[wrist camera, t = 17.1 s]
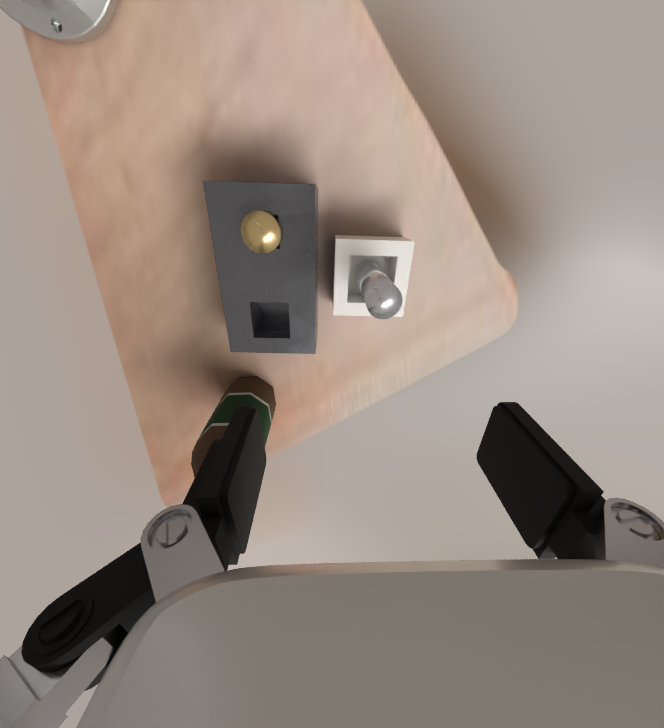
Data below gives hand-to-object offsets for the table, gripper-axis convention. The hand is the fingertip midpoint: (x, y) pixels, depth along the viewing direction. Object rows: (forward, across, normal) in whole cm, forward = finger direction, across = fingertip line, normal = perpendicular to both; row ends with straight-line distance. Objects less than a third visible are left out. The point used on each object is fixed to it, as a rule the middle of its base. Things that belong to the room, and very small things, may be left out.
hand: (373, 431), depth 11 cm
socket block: (+27, +8, -1) cm, 28 cm away
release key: (+26, +8, -6) cm, 28 cm away
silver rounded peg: (+26, -3, -1) cm, 26 cm away
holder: (+27, -3, -1) cm, 27 cm away
